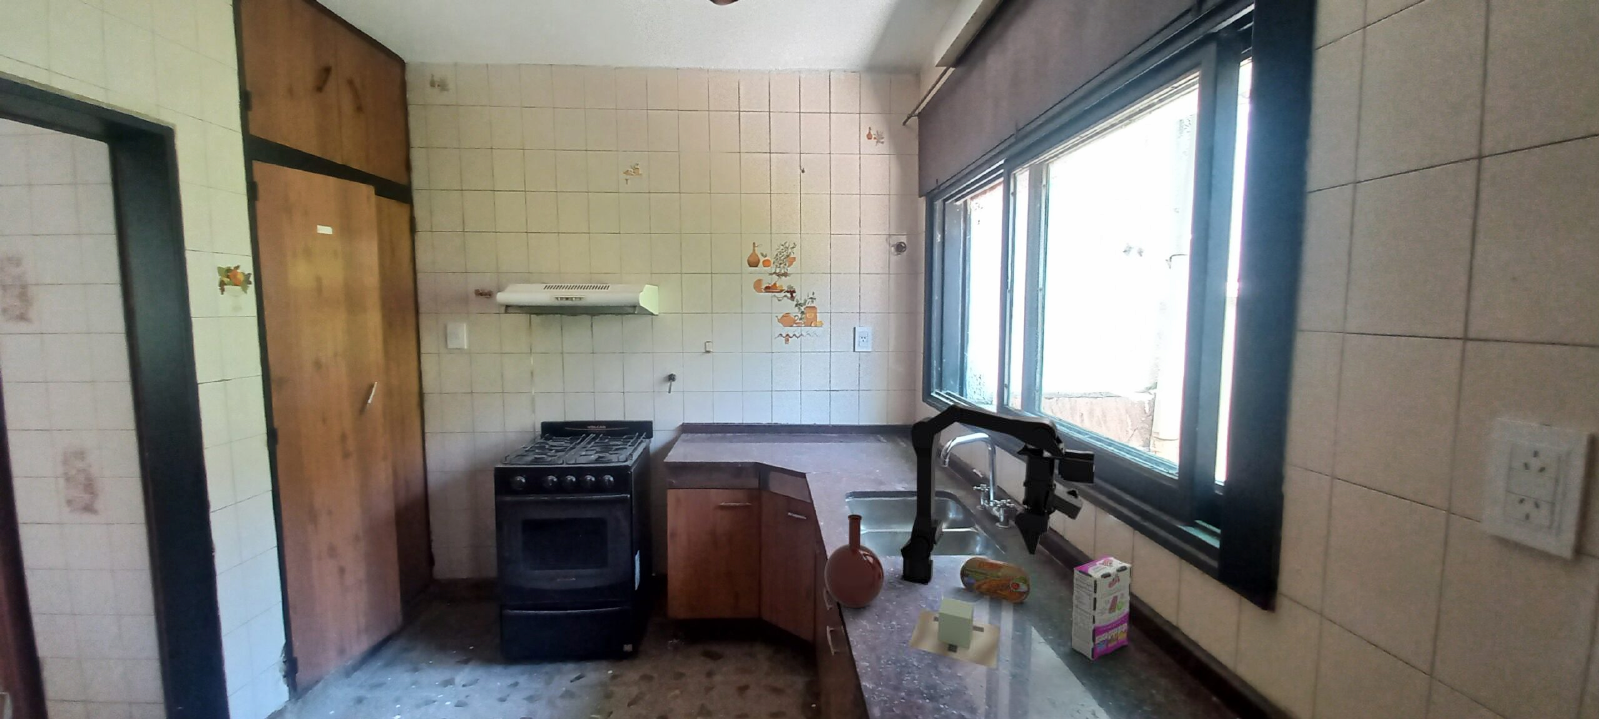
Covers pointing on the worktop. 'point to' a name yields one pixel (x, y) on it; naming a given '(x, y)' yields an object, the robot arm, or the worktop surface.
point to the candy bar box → (1100, 607)
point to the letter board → (980, 646)
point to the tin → (995, 579)
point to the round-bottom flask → (854, 570)
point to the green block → (955, 622)
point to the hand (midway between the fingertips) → (1035, 546)
